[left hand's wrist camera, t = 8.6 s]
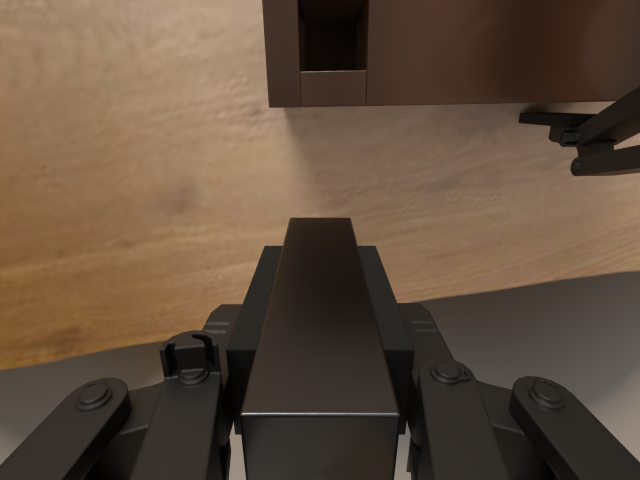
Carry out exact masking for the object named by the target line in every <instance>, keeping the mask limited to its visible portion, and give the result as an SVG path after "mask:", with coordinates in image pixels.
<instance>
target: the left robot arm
mask: <svg viewBox="0 0 640 480" xmlns="http://www.w3.org/2000/svg"><path fill="white" fill-rule="evenodd" d="M282 247H283V246H265V247H264V249H263V252H262V255H261V257H260V260H259V263H258V265H257V268H256V271H255V273H254V276H253V279H252V281H251V284H250V286H249V289H248V292H247V294H246V297H245V300H244V302H243V304H221V305H220V306H219V307H218V308H216V309H215V310H214V311H213V312H211V314H210V316H209V318H208V320H207V322H206V325H204V327H203V329H202V331H197V330H193V331H188V332H183V333H180V334H178V335H176V336H173V337H172V338H170V339H169V340H167V341H166V342H165V343H164V344H163V345H162V347H161V348H160V349H159V352H160V357H161V362H162V367H163V372H164V377H165V379H164V381H163V382H161V383H159V384H156V385H153V386H149V387H144V388H140V389H136V390H131V391H128V388H127V384H126V383H125V382H124V381H123V380H121V379H117V378H102V379H98V380H95V381H92V382H89V383H87V384H85V385H83V386H81V387H79V388H77V389H76V390H75V391H73V392H72V393H71V394H70V395H68V396H67V397H66V398H65V399H64V400H63V401H62V402H61V403H60V404H59V405H58V406H57V407H56V408H55V410H53V411H52V413H51V414H50V415H49V416H48V417H47V418H46V419H45V420H44V421H43V422H42V423H41V424H40V425H39V426H38V427H37V428H36V429H35V430H34V431H33V432H32V433H31V434H30V435H29V436H28V437H27V438H26V439H25V440H24V441H23V442H22V443H21V444H20V446H19V447H18V448H17V449H16V450H15V451H14V452H13V453H12V454H11V455H10V456H9V457H8V458H7V459H6V460H5V461H4V462H3V463H2V464H1V465H0V480H229V469H230V457H231V446H230V438H229V436H230V432H231V429H232V425H233V421H234V428H235V434H241V426H240V417H239V414H240V410H241V406H242V402H243V399H244V395H245V391H246V387H247V383H248V379H249V375H250V371H251V368H252V364H253V360H254V356H255V352H256V348H257V344H258V340H259V337H260V333H261V329H262V325H263V321H264V317H265V313H266V309H267V306H268V302H269V298H270V294H271V290H272V286H273V282H274V278H275V275H276V271H277V267H278V263H279V259H280V255H281V251H282ZM358 249H359V253H360V257H361V261H362V265H363V269H364V273H365V277H366V281H367V285H368V289H369V292H370V296H371V300H372V304H373V308H374V312H375V316H376V320H377V324H378V328H379V332H380V336H381V339H382V343H383V347H384V351H385V355H386V359H387V363H388V367H389V371H390V375H391V379H392V382H393V386H394V390H395V394H396V398H397V402H398V406H399V410H400V414H401V418H400V427H399V434H405V430H406V421H407V422H408V426H409V430H410V434H411V438H410V446H409V455H408V462H407V472H411V480H640V462H639V461H638V460H637V459H636V458H635V457H634V456H633V455H632V454H631V453H630V452H629V451H628V450H627V449H626V448H625V447H624V446H623V445H622V444H621V443H620V442H619V441H618V440H617V439H616V438H615V437H614V436H613V435H612V434H611V433H610V432H609V431H608V430H607V429H606V428H605V427H604V425H603V424H602V423H601V422H600V421H599V420H598V419H597V418H596V417H595V416H594V415H593V414H592V413H591V412H590V411H589V410H588V409H587V408H586V407H585V406H584V405H583V404H582V403H581V402H580V401H579V400H578V399H577V398H576V397H575V396H574V395H573V394H572V393H571V392H569V391H568V390H567V389H566V388H564V387H563V386H561V385H559V384H557V383H555V382H553V381H551V380H547V379H544V378H541V377H532V376H526V377H522V378H519V379H518V380H517V381H516V382H515V383H514V385H513V389H512V390H511V389H506V388H502V387H498V386H493V385H489V384H486V383H483V382H480V381H478V380H476V378H475V377H474V375H473V373H472V372H471V370H470V369H468V368H467V367H466V366H465V365H464V364H462V363H460V362H458V361H455V360H454V358H453V356H452V354H451V353H450V351H449V349H448V347H447V345H446V343H445V341H444V339H443V337H442V335H441V333H440V332H439V329H438V327H437V326H436V324H435V322H434V320H433V318H432V316H431V314H430V312H429V311H428V310H427V309H425V308H424V307H423V306H422V305H420V304H419V303H397V302H396V299H395V296H394V294H393V291H392V288H391V286H390V283H389V281H388V278H387V275H386V273H385V270H384V267H383V265H382V262H381V259H380V257H379V254H378V252H377V249H376V246H358Z"/></svg>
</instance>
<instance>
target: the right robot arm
mask: <svg viewBox="0 0 640 480" xmlns="http://www.w3.org/2000/svg"><path fill="white" fill-rule="evenodd" d="M519 123H526V124H537V125H547V126H551V128H550V133H549V139H550V140H551V141H552V142H557V143H559V144H560V145H561V146H562V147H576V148H577V151H578V157H577V158H575V159H574V160H573V161H572V164H571V173H572V174H573V175H574V176H609V175H622V174H631V173H640V145H637V146H632V147H627V148H622V149H617V150H614V145H617V144H619V143H621V142H622V141H624V140H626V139H628V138H630V137H632V136H634V135H636V134H638V133H640V86H639V87H637V88H636V89H634V90H633V91H631V92H630V93H628V94H627V95H625V96H624V97H622V98H621V99H619V100H618V101H616V102H615V103H613V104H612V105H610V106H609V107H607V108H606V109H604V110H603V111H601V112H600V113H598V114H578V113H520V118H519Z"/></svg>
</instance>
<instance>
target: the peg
mask: <svg viewBox="0 0 640 480" xmlns="http://www.w3.org/2000/svg"><path fill="white" fill-rule="evenodd" d="M239 417H240V426H241V435H242V445H243V454H244V464H245V473H246V480H394V474H395V465H396V455H397V446H398V437H399V427H400V418H401V414H400V410H399V406H398V402H397V398H396V394H395V390H394V386H393V382H392V379H391V375H390V371H389V367H388V363H387V359H386V355H385V351H384V347H383V343H382V339H381V336H380V332H379V328H378V324H377V320H376V316H375V312H374V308H373V304H372V300H371V296H370V292H369V289H368V285H367V281H366V277H365V273H364V269H363V265H362V261H361V257H360V253H359V249H358V245H357V242H356V238H355V234H354V230H353V226H352V222H351V219H350V218H290V220H289V224H288V228H287V232H286V236H285V240H284V244H283V247H282V251H281V255H280V259H279V263H278V267H277V271H276V275H275V278H274V282H273V286H272V290H271V294H270V298H269V302H268V306H267V309H266V313H265V317H264V321H263V325H262V329H261V333H260V337H259V340H258V344H257V348H256V352H255V356H254V360H253V364H252V368H251V371H250V375H249V379H248V383H247V387H246V391H245V395H244V399H243V402H242V406H241V410H240V414H239Z"/></svg>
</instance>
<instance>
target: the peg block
mask: <svg viewBox="0 0 640 480" xmlns="http://www.w3.org/2000/svg"><path fill="white" fill-rule="evenodd" d="M262 4H263V20H264V36H265V52H266V67H267V83H268V99H269V107H270V108H280V107H333V106H386V105H439V104H493V103H546V102H599V101H618V100H619V99H621V98H622V97H624V96H625V95H627V94H628V93H630V92H631V91H633V90H634V89H636V88H637V87H639V86H640V0H262ZM356 20H357V24H356V70H351V71H305V37H304V22H335V21H356Z"/></svg>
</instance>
